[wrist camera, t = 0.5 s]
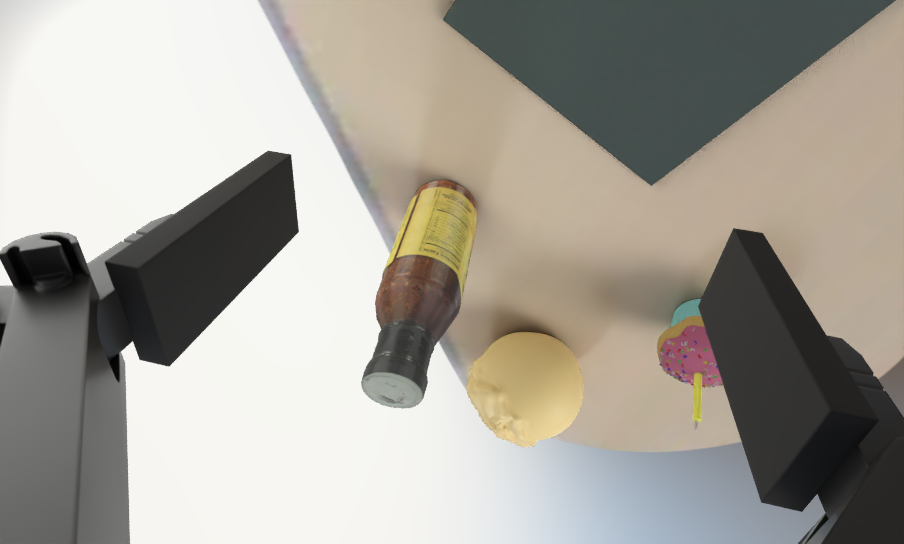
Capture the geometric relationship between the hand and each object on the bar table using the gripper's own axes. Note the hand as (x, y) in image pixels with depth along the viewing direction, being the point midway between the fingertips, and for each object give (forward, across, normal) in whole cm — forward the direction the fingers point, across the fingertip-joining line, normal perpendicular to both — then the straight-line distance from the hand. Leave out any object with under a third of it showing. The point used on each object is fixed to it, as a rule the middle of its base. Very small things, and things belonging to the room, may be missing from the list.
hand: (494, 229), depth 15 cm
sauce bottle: (+27, -6, -13) cm, 31 cm away
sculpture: (+31, +4, -32) cm, 45 cm away
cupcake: (+30, +19, -21) cm, 41 cm away
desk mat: (+24, +6, +5) cm, 25 cm away
